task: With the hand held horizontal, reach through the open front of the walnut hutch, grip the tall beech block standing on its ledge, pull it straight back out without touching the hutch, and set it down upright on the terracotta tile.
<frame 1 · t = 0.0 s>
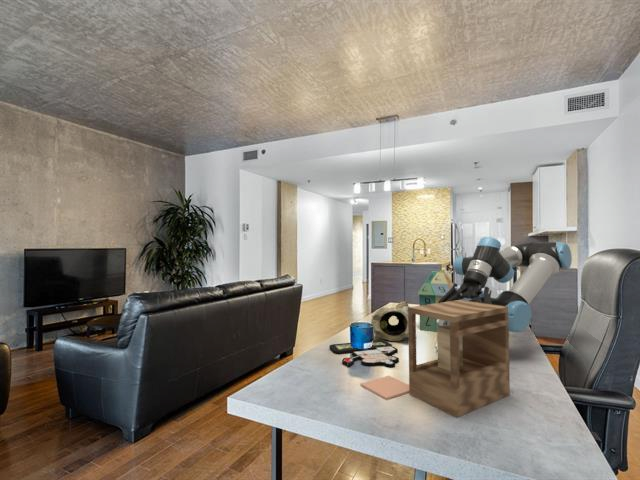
hand: (455, 327, 118), 15 cm above the table, tool tilted 35°, fingers open, 13 cm apart
sign: (369, 357, 137), on the table
terracotta tile: (387, 387, 106), on the table
beech block: (450, 367, 103), point 7 cm above the table, touching hutch
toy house: (439, 329, 178), on the table
hutch: (459, 394, 100), on the table
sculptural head: (393, 338, 162), on the table
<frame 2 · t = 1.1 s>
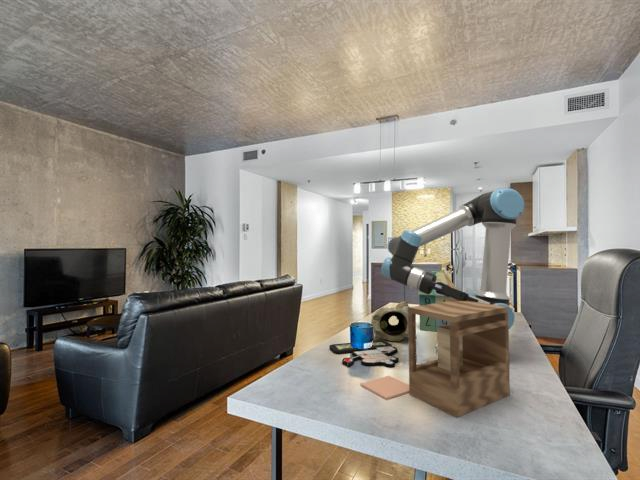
hand: (488, 307, 114), 23 cm above the table, tool tilted 70°, fingers open, 7 cm apart
nothing on the table moved.
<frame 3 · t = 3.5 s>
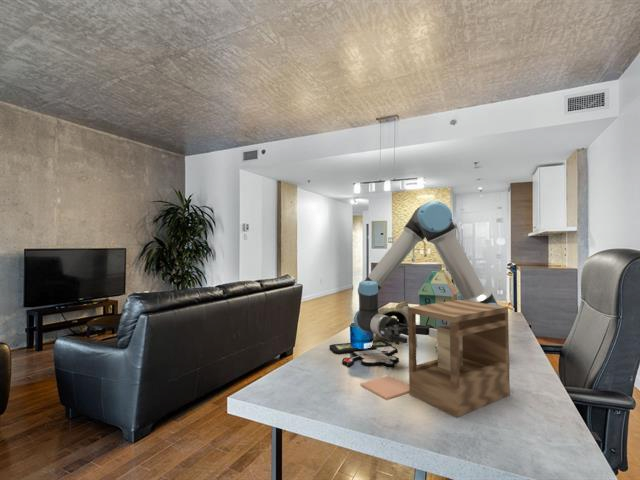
hand: (431, 339, 108), 14 cm above the table, tool horizontal, fingers open, 13 cm apart
nothing on the table moved.
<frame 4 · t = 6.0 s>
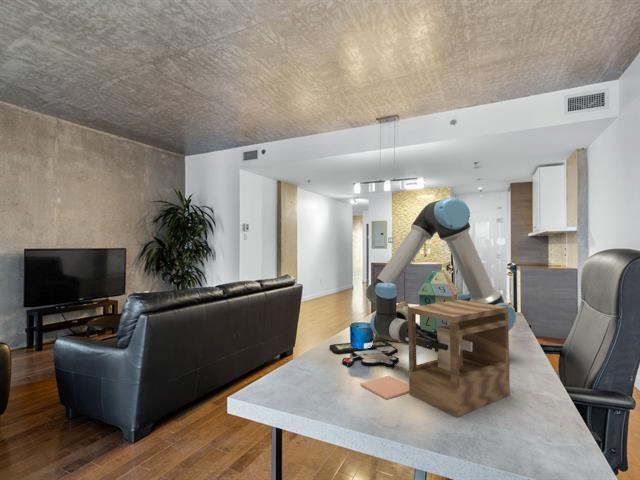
hand: (465, 348, 99), 14 cm above the table, tool horizontal, fingers closed on beech block, 5 cm apart
beech block: (450, 367, 103), point 7 cm above the table, touching gripper, hutch
everything else where it was.
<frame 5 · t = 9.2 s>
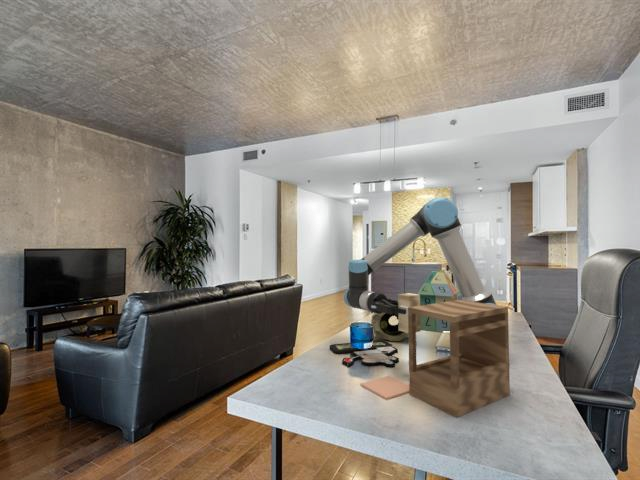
hand: (421, 312, 110), 22 cm above the table, tool horizontal, fingers closed on beech block, 5 cm apart
beech block: (409, 330, 114), point 15 cm above the table, touching gripper
everything else where it was.
when the fingers open (9 cm above the table, at t = 12.7 s): beech block drops 1 cm, resting on terracotta tile.
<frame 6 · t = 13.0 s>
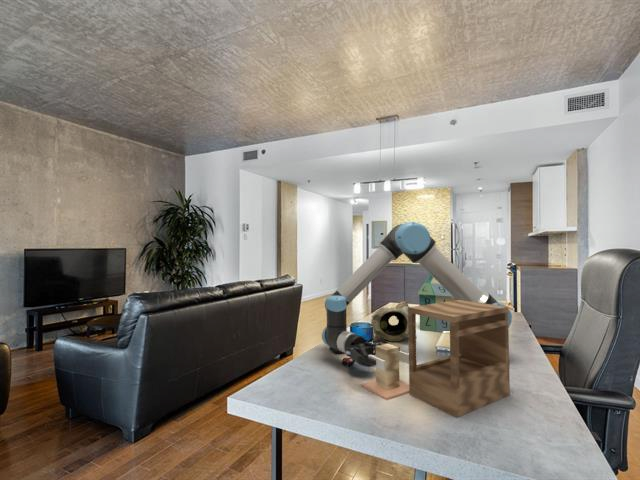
hand: (397, 362, 102), 9 cm above the table, tool horizontal, fingers open, 9 cm apart
beech block: (387, 385, 106), point 1 cm above the table, touching terracotta tile
everything else where it was.
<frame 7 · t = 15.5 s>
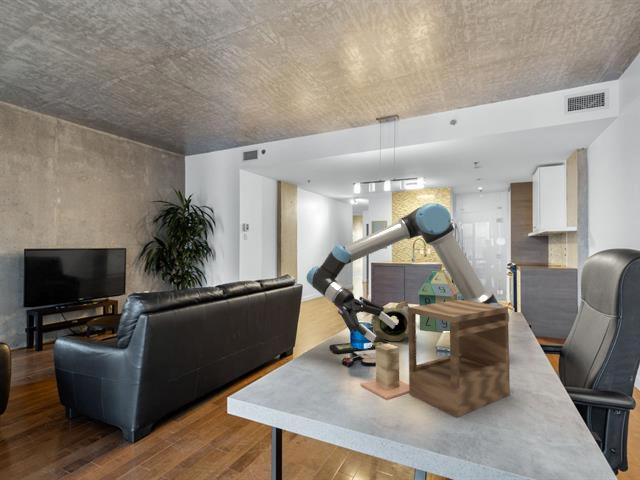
hand: (385, 332, 118), 14 cm above the table, tool tilted 60°, fingers open, 13 cm apart
nothing on the table moved.
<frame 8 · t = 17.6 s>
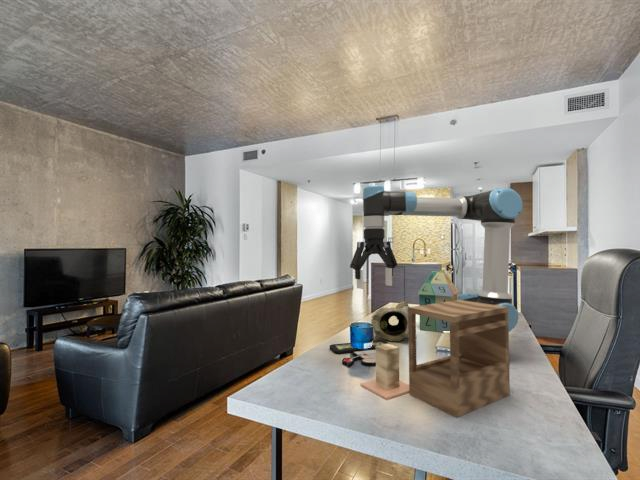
hand: (374, 287, 125), 29 cm above the table, tool pointing down, fingers open, 13 cm apart
nothing on the table moved.
at the end: beech block inside the target area on the terracotta tile (0.0 cm from its centre), point 0.6 cm above the terracotta tile's base; beech block tilted 0°; the gripper is holding nothing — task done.
